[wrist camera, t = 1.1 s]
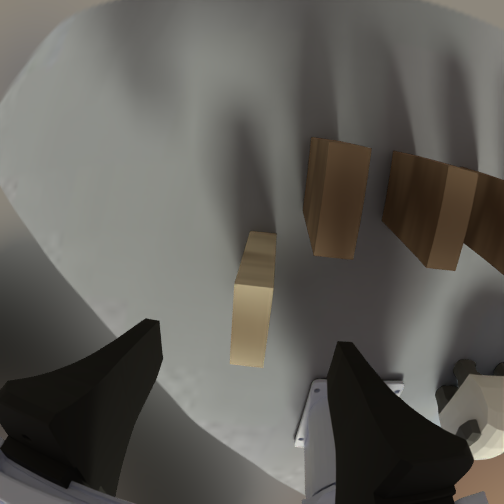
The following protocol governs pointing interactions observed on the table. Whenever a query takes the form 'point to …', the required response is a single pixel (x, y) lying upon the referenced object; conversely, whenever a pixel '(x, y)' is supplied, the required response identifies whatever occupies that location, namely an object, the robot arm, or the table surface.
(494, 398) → the giant panda
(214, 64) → the table surface
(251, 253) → the maple tile
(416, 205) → the d4
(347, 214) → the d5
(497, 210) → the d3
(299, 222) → the table surface
